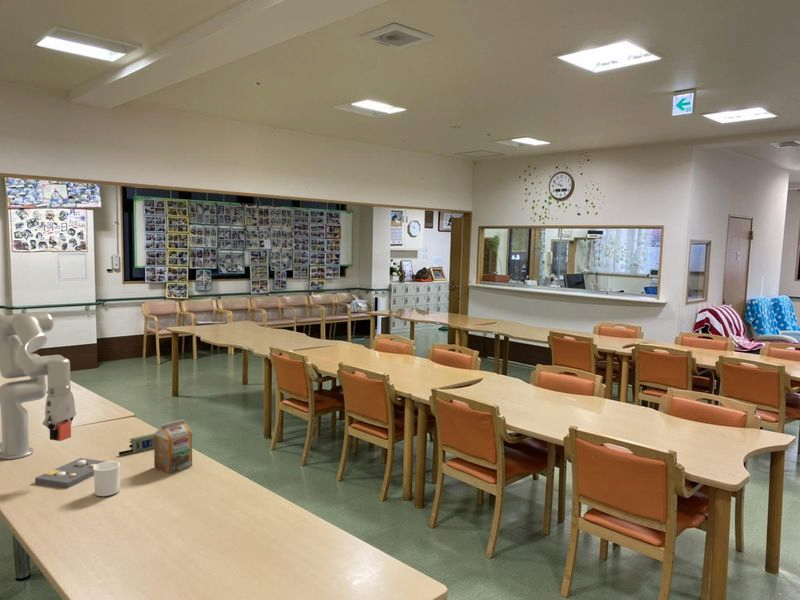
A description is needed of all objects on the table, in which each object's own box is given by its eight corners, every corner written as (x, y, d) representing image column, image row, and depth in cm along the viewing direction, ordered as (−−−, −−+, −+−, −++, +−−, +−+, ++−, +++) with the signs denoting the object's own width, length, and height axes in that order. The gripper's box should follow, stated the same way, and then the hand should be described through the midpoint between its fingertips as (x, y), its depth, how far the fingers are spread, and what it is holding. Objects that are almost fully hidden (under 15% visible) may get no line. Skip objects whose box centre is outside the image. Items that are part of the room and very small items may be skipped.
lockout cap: (49, 439, 219) (49, 424, 219) (60, 435, 224) (60, 420, 224) (60, 441, 218) (60, 425, 218) (71, 437, 223) (70, 421, 223)
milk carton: (168, 474, 231) (168, 427, 229) (154, 467, 237) (154, 422, 235) (192, 466, 239) (192, 422, 237) (177, 460, 245) (177, 416, 244)
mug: (109, 499, 206) (109, 471, 206) (87, 496, 208) (87, 469, 207) (129, 487, 217) (129, 460, 216) (108, 484, 219) (108, 458, 218)
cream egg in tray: (54, 479, 222) (54, 474, 221) (61, 475, 225) (61, 471, 224) (61, 480, 221) (61, 475, 221) (67, 477, 224) (67, 472, 224)
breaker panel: (35, 482, 218) (35, 476, 218) (80, 462, 240) (80, 456, 239) (67, 488, 215) (67, 481, 215) (111, 467, 236) (111, 460, 236)
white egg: (74, 466, 231) (74, 462, 231) (81, 464, 234) (81, 459, 234) (81, 467, 230) (81, 463, 230) (87, 465, 233) (87, 460, 233)
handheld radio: (176, 444, 266) (120, 457, 247) (173, 442, 268) (117, 455, 250) (176, 429, 266) (120, 442, 247) (172, 428, 268) (117, 440, 249)
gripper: (48, 396, 211) (49, 445, 212) (84, 386, 227) (85, 431, 229) (31, 395, 212) (33, 443, 214) (69, 385, 229) (70, 429, 230)
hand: (60, 436), depth 221 cm, fingers closed on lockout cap, 4 cm apart
